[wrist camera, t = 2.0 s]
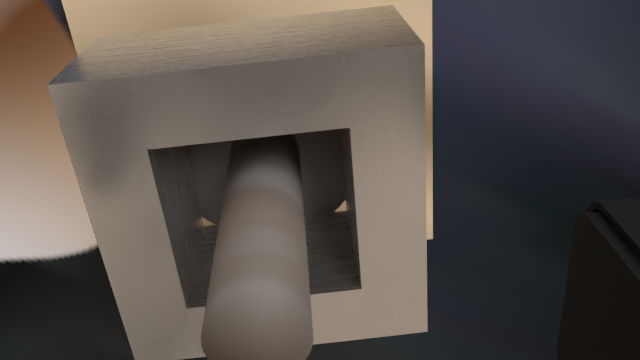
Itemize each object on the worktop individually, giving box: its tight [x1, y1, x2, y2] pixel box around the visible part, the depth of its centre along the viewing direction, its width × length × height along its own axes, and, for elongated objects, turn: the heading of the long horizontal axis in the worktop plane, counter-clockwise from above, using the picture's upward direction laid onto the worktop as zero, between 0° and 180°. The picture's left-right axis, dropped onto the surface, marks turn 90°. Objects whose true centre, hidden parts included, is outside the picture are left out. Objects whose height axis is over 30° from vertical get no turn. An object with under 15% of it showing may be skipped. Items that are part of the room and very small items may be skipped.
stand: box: [61, 0, 433, 360], centre depth 14 cm, size 10×10×10 cm
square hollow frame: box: [47, 5, 427, 360], centre depth 14 cm, size 7×7×4 cm
